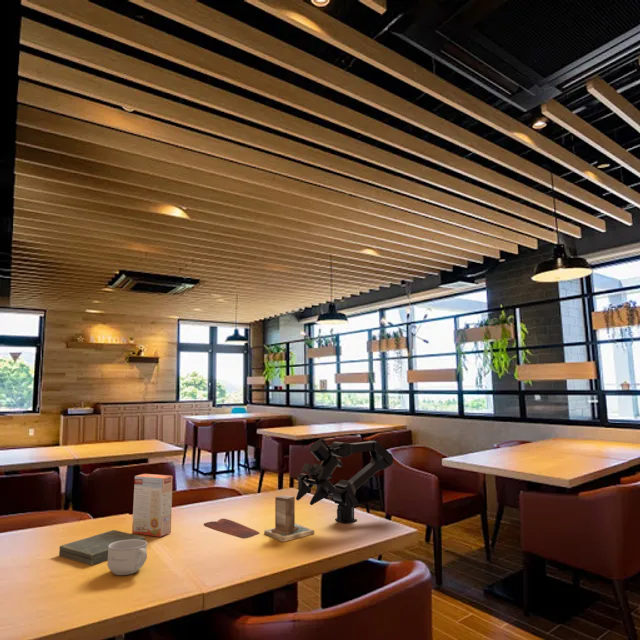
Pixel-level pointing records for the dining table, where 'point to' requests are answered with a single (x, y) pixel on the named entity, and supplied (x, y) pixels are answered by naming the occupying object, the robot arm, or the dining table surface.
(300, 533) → the teal framed panel
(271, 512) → the dining table surface
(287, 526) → the stepped wooden pillar
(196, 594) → the dining table surface
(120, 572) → the teacup
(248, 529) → the wooden tablet
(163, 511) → the cracker box
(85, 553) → the case
